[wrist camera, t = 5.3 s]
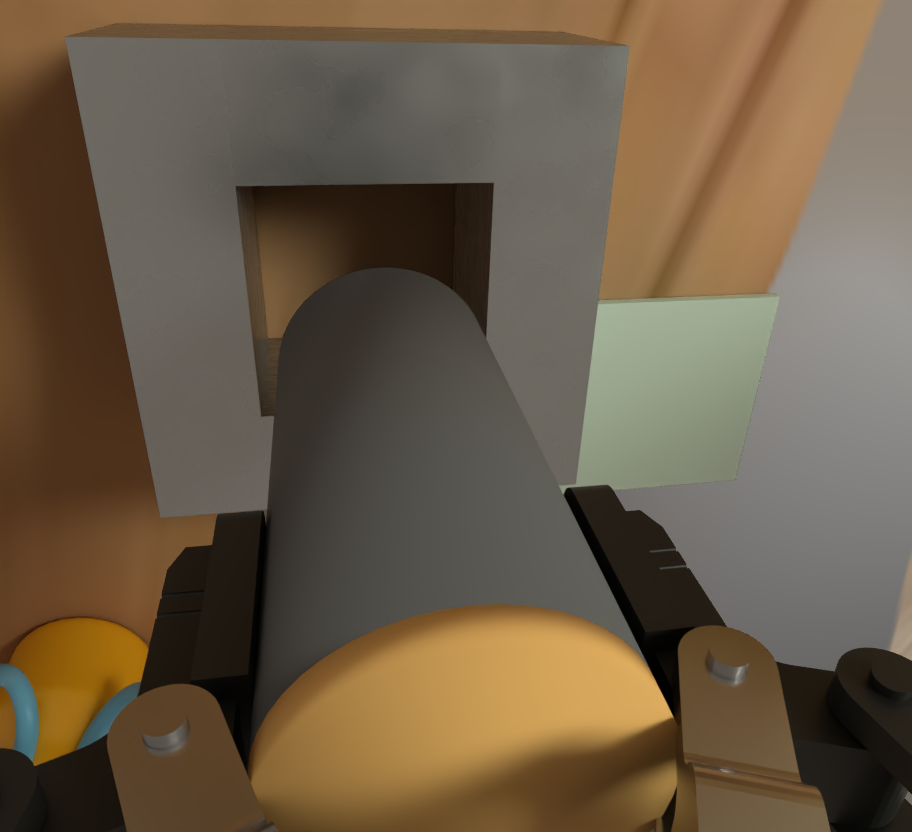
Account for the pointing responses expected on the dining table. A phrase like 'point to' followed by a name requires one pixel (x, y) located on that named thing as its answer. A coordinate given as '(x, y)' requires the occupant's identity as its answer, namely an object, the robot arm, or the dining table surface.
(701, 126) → the dining table surface
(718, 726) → the robot arm
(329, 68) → the housing
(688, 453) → the mat
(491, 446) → the plug
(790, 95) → the dining table surface
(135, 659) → the yellow blue looped piece
